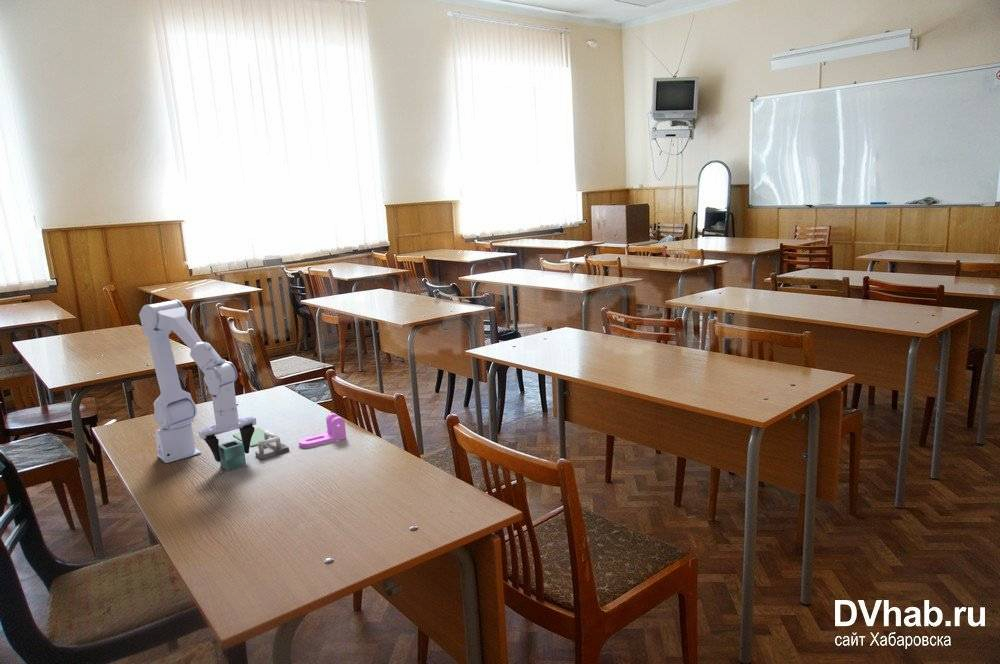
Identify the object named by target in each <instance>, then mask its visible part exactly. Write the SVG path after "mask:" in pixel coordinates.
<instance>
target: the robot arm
mask: <svg viewBox="0 0 1000 664" xmlns="http://www.w3.org/2000/svg"><path fill="white" fill-rule="evenodd" d="M138 316H139V319H140V323H141V328H142V332H143V335H145V336H146V339H147V342H148V346H149V351H150V354H151V355H150V356H151V358H152V363H153V366H154V371H155V374H156V379H157V383H158V386H159V392H160V394H159V396H157V398H156V399H155V400H154V402H153V408H154V409H153V410H154V413H153V416H154V417H153V418H154V421H155V423H156V424H157V426H158V427H160V428H159V429H156V430H155V431H154V437H155V438H154V439H155V444H156V450H157V451H156V452H157V457H158V458H159V459H160V460H161V461H162V462H164V463H165V464H168V463H172V462H174V461H178V460H183V459H186V458H189V457H193V456H196V455H200V454H202V453H201V452H202V451H200V450H199V449H198V448H197V447H196V443H195V437H194V430H193V424H192V423H193V422H194V421H195V420H194V418H195V417H196V416H197V413H198V409H197V405H196V402H194V400H193V398H192V397H193V396H192V395H191V393H190V392H188V391H186V390H184V389H182V386H181V382H180V378H179V374H178V369H177V365H176V361H175V357H174V354H173V350H172V349H173V348H172V345H171V341H170V336H169V335H170V333H171V332H174V333H175V335H176V336H178V338H179V339H180V340H181V341H182V342H183V343H184V345H186V346H187V347H188V348H189V349H190V352H189V356H190V358H191V359H192V360H193V361H194V362H195V364H196V365H197V366H198V368H199V369H200V370H201V372H203V375H204V376H203V381H204V382H205V385H206V386H207V388H208V392H209V395H211V401H212V407H213V415H214V420H215V424H214V425H211V426H209V427H206V428H203V429H199V430H198V436H199V438H200V440H203V441H205V443H206V445H207V446H208V447H209V449H210V451H211V452H212V456H213V457H214V460H215V462H217V463H220V462H221V458H220V453H219V442H220V439H219V438H217V435H221V434H223V433H227V432H231V431H235V430H239V433H241V437H242V441H241V443H242V444H243V445H244V452H245V455H246V454H249V453H250V448H251V446H250V442H251V438H252V435H253V433H254V430H255V427H254V426H257V418H256V417H254V416H249V417H245V418H244V417H243V418H239V413H238V405H237V398H236V391H235V382H236V381H237V379H238V372H237V371H238V370H237V368H236V367H235V365H234V363H233V362H232V361H227V360H226V359H224V358H222V357H221V355H220V354H218V352H217V350H215V348H214V347H213V346H212V345H211V344H210V343H209V342H206V341H202V339H201V338H200V336H199V334H198V333H197V332H196V330H195V329H194V327H193V326H192V324H191V322H190V321H189V320H188V311H187V309H186V307H185V305H184V304H183V303H182V302H181V300H179V299H172V300H168V301H161V302H157V303H152V304H145V305H143V306H142V307H141V309H140V311H139V313H138Z"/></svg>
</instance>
